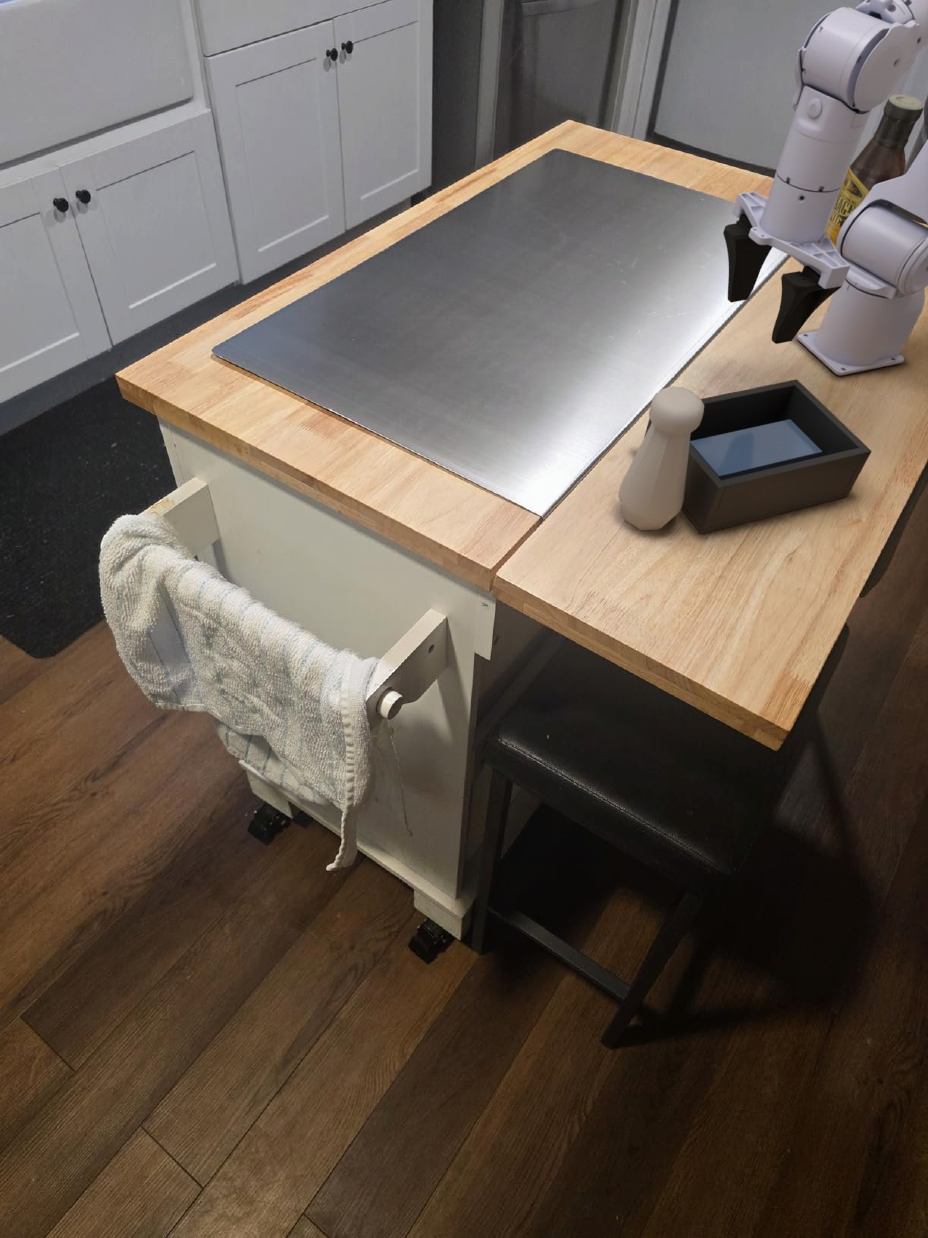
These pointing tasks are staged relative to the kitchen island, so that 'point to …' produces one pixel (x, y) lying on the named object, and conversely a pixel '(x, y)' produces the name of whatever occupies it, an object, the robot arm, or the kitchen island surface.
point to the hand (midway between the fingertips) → (759, 319)
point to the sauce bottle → (877, 159)
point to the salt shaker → (661, 460)
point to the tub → (776, 487)
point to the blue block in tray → (756, 449)
